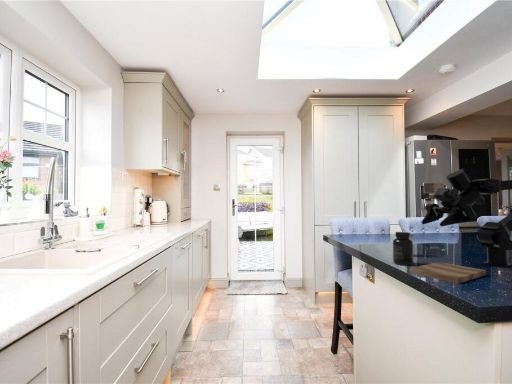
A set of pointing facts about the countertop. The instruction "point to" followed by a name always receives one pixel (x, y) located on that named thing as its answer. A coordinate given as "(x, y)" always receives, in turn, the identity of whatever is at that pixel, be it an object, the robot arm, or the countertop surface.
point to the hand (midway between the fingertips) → (430, 224)
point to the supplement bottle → (402, 249)
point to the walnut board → (448, 272)
